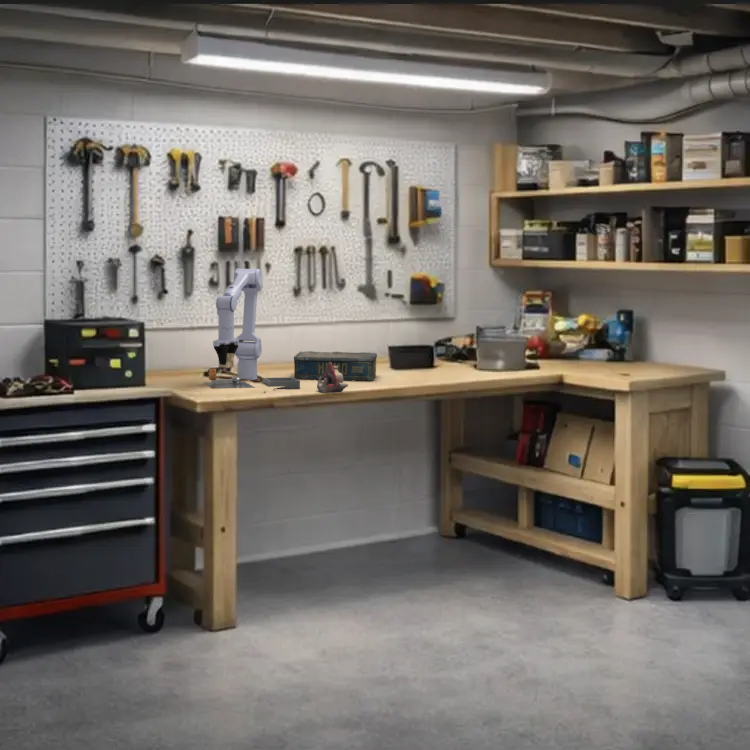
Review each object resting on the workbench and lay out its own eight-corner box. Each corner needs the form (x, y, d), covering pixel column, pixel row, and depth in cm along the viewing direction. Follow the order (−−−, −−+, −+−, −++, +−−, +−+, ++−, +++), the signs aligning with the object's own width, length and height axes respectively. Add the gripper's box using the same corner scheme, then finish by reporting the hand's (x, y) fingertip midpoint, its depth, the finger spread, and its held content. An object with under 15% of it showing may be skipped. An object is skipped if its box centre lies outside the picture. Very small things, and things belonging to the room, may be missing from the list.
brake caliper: (307, 384, 440) (325, 358, 442) (328, 400, 445) (346, 374, 447) (319, 387, 430) (338, 361, 432) (341, 404, 435) (359, 378, 437)
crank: (239, 381, 451) (239, 368, 450) (241, 382, 447) (241, 369, 447) (208, 382, 447) (208, 368, 446) (210, 383, 443) (210, 369, 443)
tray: (262, 385, 452) (262, 377, 451) (291, 384, 455) (291, 377, 455) (269, 389, 441) (269, 381, 440) (299, 388, 445) (299, 380, 444)
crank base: (202, 385, 448) (202, 381, 448) (244, 384, 454) (244, 381, 453) (212, 391, 431) (212, 388, 431) (255, 390, 437) (255, 387, 436)
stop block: (224, 366, 444) (224, 352, 443) (233, 366, 442) (233, 353, 442) (218, 367, 440) (218, 353, 440) (227, 367, 439) (227, 354, 438)
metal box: (373, 382, 470) (374, 357, 469) (292, 380, 472) (293, 355, 471) (377, 376, 491) (377, 352, 490) (299, 374, 493) (299, 350, 492)
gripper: (224, 329, 431) (224, 366, 433) (245, 327, 444) (245, 363, 446) (208, 328, 434) (208, 365, 436) (229, 326, 447) (229, 361, 449)
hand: (226, 364), depth 441 cm, fingers closed on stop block, 4 cm apart
